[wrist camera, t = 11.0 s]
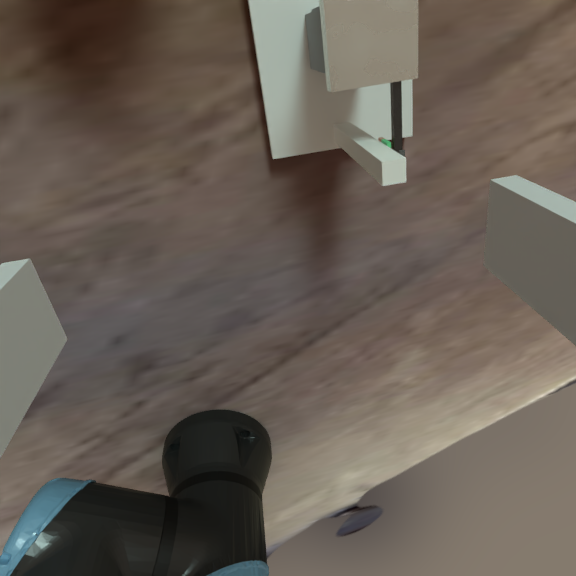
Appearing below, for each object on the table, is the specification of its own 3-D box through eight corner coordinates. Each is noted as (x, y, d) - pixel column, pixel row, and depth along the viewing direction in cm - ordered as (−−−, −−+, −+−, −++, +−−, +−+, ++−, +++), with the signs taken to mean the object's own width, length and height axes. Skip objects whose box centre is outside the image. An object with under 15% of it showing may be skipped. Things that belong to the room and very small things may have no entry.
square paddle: (316, 147, 41) (338, 173, 33) (301, 0, 36) (322, -14, 27) (380, 137, 41) (417, 159, 33) (374, -11, 36) (418, -29, 27)
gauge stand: (271, 155, 46) (292, 211, 30) (237, -65, 37) (241, -149, 21) (405, 132, 46) (495, 176, 30) (403, -91, 37) (527, -190, 22)
